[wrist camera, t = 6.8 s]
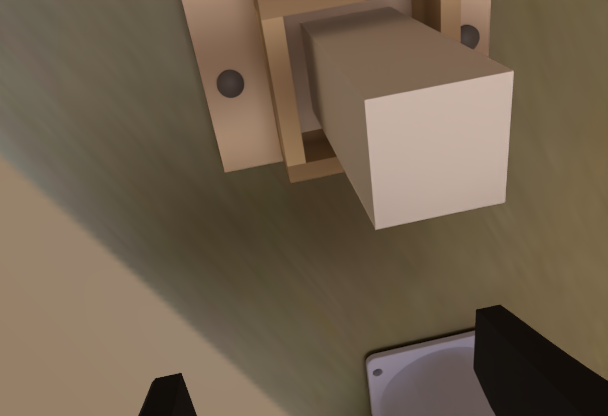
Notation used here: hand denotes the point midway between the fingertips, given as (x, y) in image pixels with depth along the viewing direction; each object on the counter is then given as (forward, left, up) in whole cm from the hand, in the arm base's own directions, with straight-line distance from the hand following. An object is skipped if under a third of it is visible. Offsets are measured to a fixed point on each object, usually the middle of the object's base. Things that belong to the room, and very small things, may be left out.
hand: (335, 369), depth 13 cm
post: (+5, -3, -9) cm, 10 cm away
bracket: (+5, -3, -10) cm, 11 cm away
